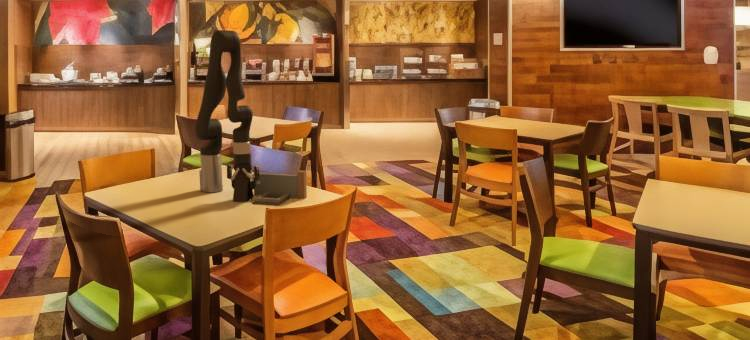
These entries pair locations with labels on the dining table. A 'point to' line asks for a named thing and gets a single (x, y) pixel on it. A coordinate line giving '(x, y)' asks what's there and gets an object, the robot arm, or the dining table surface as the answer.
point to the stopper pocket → (272, 199)
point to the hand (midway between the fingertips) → (243, 188)
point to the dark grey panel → (282, 184)
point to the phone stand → (242, 188)
